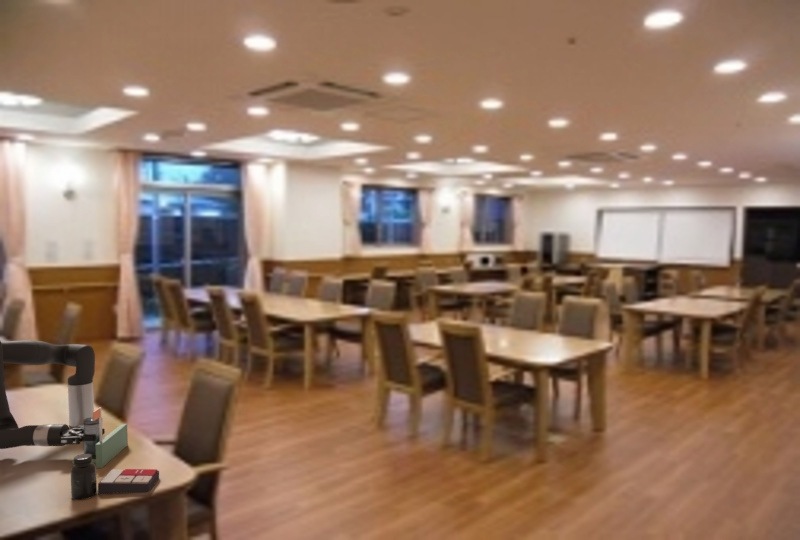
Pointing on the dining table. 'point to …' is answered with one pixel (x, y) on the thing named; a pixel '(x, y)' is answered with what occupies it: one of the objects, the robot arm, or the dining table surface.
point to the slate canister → (91, 428)
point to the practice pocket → (108, 442)
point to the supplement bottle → (83, 477)
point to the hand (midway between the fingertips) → (99, 434)
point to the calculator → (128, 481)
